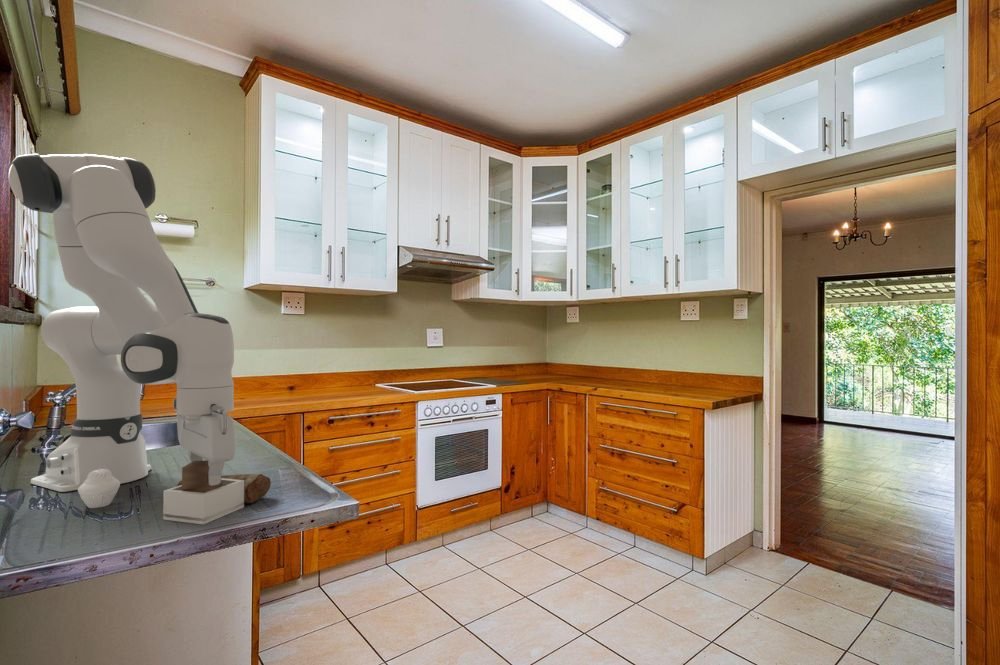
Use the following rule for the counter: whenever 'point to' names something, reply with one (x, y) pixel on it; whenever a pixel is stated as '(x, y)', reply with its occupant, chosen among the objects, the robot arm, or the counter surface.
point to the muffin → (99, 488)
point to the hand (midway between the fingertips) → (205, 478)
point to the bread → (251, 485)
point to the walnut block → (196, 477)
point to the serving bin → (203, 502)
